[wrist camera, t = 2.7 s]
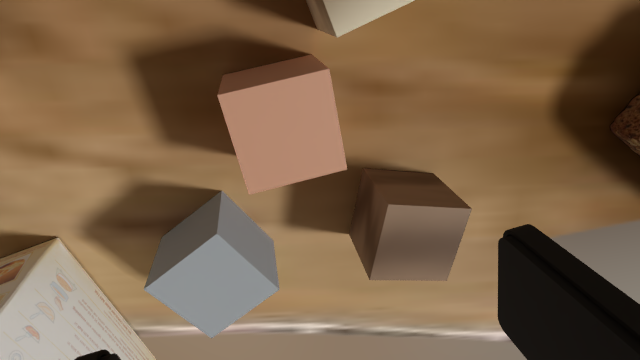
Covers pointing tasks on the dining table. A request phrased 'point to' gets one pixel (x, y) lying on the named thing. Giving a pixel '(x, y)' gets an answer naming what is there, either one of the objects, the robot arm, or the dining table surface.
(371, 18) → the beech block
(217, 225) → the slate block
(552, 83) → the dining table surface
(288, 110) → the terracotta block
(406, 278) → the walnut block
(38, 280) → the coffeecake box
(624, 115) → the bread
